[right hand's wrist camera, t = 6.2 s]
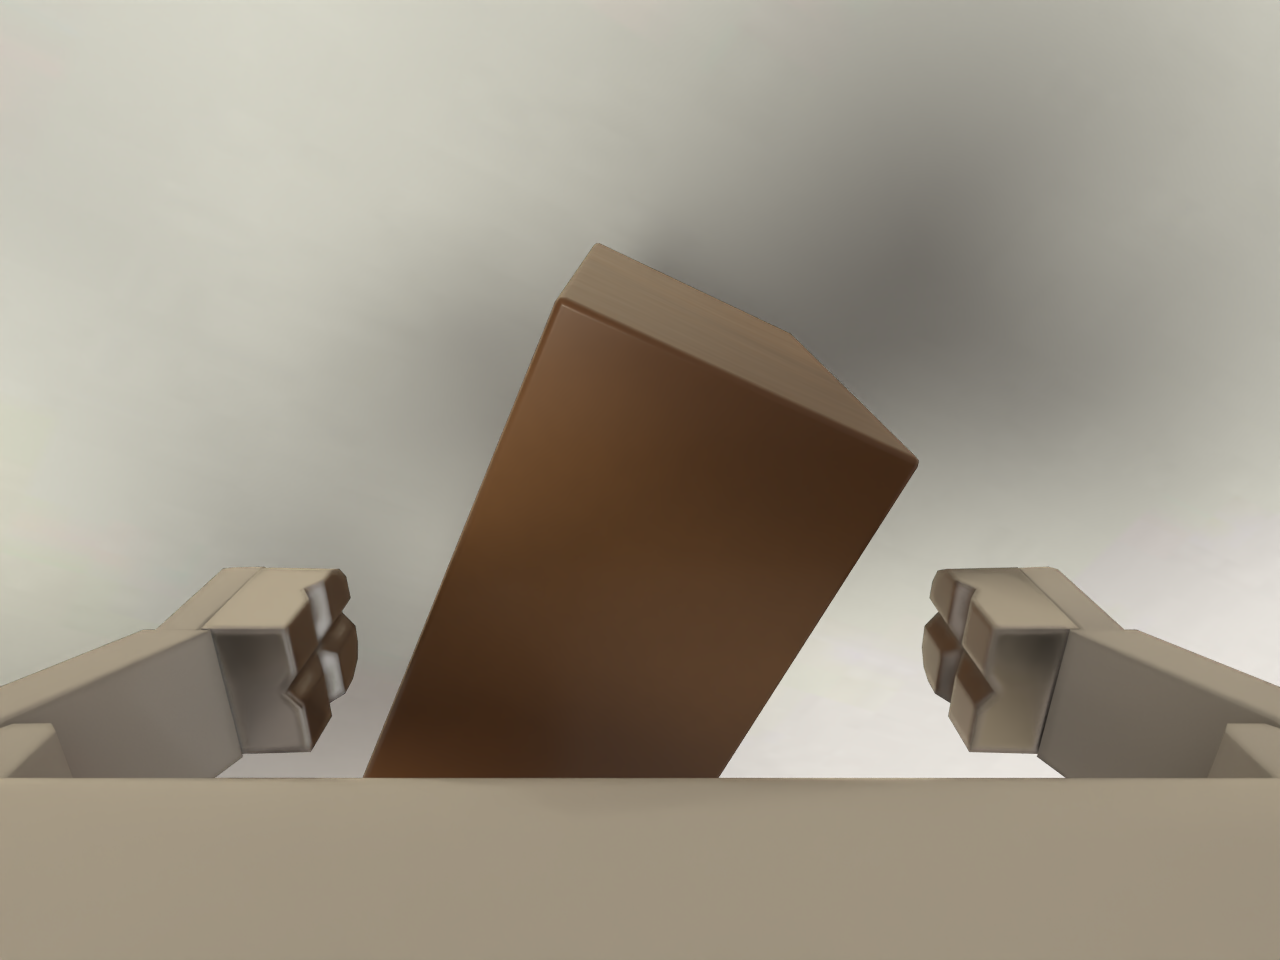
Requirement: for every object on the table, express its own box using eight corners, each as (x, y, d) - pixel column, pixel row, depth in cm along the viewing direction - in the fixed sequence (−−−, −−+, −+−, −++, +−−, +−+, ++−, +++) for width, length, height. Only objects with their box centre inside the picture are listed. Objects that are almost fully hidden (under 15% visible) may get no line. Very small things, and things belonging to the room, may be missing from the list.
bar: (595, 240, 15) (557, 294, 8) (793, 334, 16) (924, 461, 9) (313, 926, 23) (162, 1273, 16) (455, 967, 24) (374, 1317, 17)
